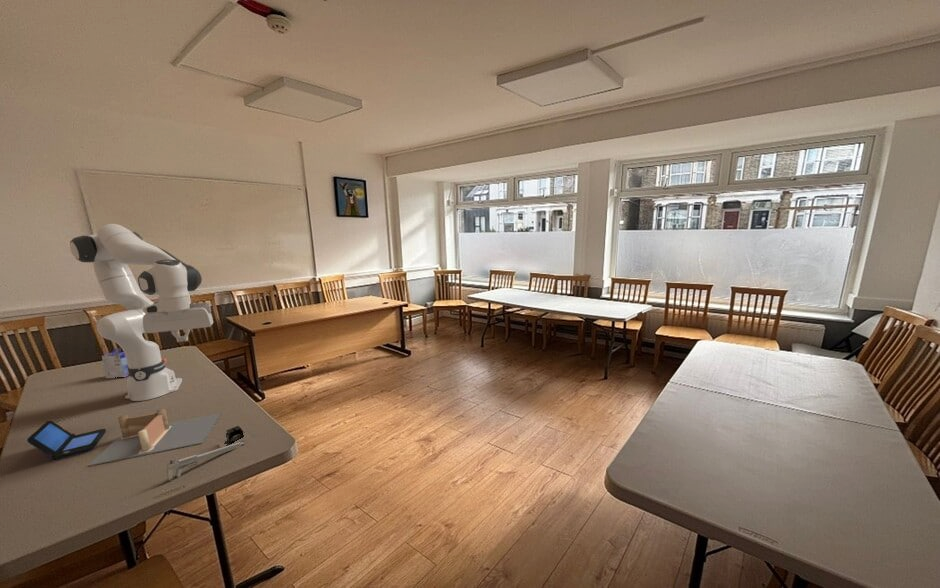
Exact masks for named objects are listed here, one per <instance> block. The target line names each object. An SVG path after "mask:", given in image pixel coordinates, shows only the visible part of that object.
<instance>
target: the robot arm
mask: <svg viewBox="0 0 940 588" xmlns="http://www.w3.org/2000/svg"><path fill="white" fill-rule="evenodd" d="M69 250H70V252H71V254H72V256H73V257H74V258H75V259H76V260H77V261H79V262H80V263H93V268H94V273H95V276H96V279H97V281H98V284H99V286H100V288H101V291H102V292H103V294H104V297H105V299H106V300H107V301H109V302H110V303H112V304H115V305H119V306H122V307H124V308H125V309H126V310H123V311H118V312H113V313H111V314H107V315H106V316H103V317H100V319H99V320H97V324H96V330H97V333H98V334H99V336H101V337H102V338H103V339H105V340H109V341H111V342H114V343H115V344H117V345H118V346H119V348H121V349H122V352H124V353H125V356H126V359H127V363H128V374H129V376H128V379H126V388H127V394H126V395H125V396H124V398H125V399H127V400H130V401H132V402H140V401H141V402H142V401H148V400H152V399H155V398H159V397H162V396H165V395H167V394H169V393H172V392H176V391H178V390H179V388H180V386H181V384H182V382H183V378H181V377H176V374H175V371H174V370H172V369H170V368H168V367H167V366H166V365H165V364H166V363H167V358H162V354H161V351H160V346H159V344H157V343H156V342H154V341H151V340H146V339H145V338H144V336H143V334H145V333H146V334H154V333H164V332H171V335H173V337H175V339H176V342H177V343H182V342H188V341H189V334H190V332H191V330H192V329H204V328H210V327H211V326H213V324H214V320H213V319H214V318H213V315H212V313H211V312H212V307H211V304H209V303H207V302H193V303H192V301H191V295H190V292H194V291H196V290H197V288H199V287H200V285H201V283H202V282H203V281H202V279H203V277H202V275H201V273H200V271H199V270H198V269H196V268H195V267H193V266H192V265H190V264H187V263H185V262H183V261H182V260H180V259H179V258H177V257H176V256H175V255H173V254H172V253H170V252H168V250H165V249H163V248H162V247H159V246H155V245H153V244H151V243H148V242H146V241H145V240H144V239H143V237H142V236H141V235H140V234H139V233H137V232H136V231H131V230H130V229H128V228H127V227H125V226H123V225H120V224H117V223H107V224H104V225H103V226H100V227H99V229H98V230H97V232H96V233H94V234H89V235H80V236H76V237H73V238H72V239H71V240H70V243H69ZM129 265H130V266H131V265H133V266H152V267H150V268H149V269H147V270H144V271H142V272H141V273H140V274H139V275H138V277H137V280H136V278H135V276H134V273H133V272H132V269H131V268H130V266H129ZM146 295H148V296H158V301H156V302H154V301H152V300H151V299H149V298H148V297H147V296H146ZM179 331H183V333H184V335H182V336H181V335H180V334H179V333H178V332H179Z"/></svg>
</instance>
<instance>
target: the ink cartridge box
mask: <svg viewBox="0 0 940 588" xmlns="http://www.w3.org/2000/svg"><path fill="white" fill-rule="evenodd" d="M121 349H122V348H121V347H119V348H118V347H117V348H113V350H112V352H110V353H107V354H104V355H101V359H102V364H103V367H104V368H103V370H104V374H105V379H118V378H117V377H125V378H127V377H129V376H128V375H129V374H128V363H127V359H126V356H125V353H124V351H122V352H121ZM126 376H127V377H126ZM115 377H116V378H115Z"/></svg>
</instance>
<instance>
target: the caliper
mask: <svg viewBox="0 0 940 588" xmlns="http://www.w3.org/2000/svg"><path fill="white" fill-rule="evenodd" d="M244 443H245V442H244V441H242V442H238V443H235V444H232V445H229V446H225V447H222V448H220V447H219V448H216V449H214V450H209V451H208V452H204V453H202V454H198V455H197V454H194V455H191V456H188V457H184V458H181V459H178V457H174V460H173V459H171V458H170V461H169V463H167V464H166V475H167V480H168V481H170V482H172V481H173V476H174V470H176V472H175V477H176V478H177V479H178V478H180V477H181V475H182V473H183V470H184V468H189V467H192V466H196V465H197V464H198V462H201V461H203V460H207V459H210V458H213V457H215V456H218V455H221V454H224V453H227V452H230V451H233V449H234V450H236V449H237V448H236V447H238V446H240V445H241V446H243V445H242V444H244ZM244 445H245V444H244ZM241 446H240V447H241ZM235 448H236V449H235ZM238 448H239V447H238Z"/></svg>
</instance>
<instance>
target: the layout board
mask: <svg viewBox="0 0 940 588" xmlns="http://www.w3.org/2000/svg"><path fill="white" fill-rule="evenodd" d="M220 414H221V413H217V414H212V415H210V414H209V415H204V416H198V417H195V418H189V419H183V420H177V421H172V422H168V424H169V429H167V430H165V431H164V432H163V433H162V434H161V435H160V436H159V437H158V439H157V440H156V441H155V442H154V443H153V444H152V445H151V446H150V448H149V449H147V450H142V447H141V443H140V438H139V435H134V436H130V437H127V438H123V436H122V434H121V435H119V436H118V437H117V438H116V439H115V440H114V441H113V442H111V444H110V445H109V446H107V447H106V448H105V449H104V450H103V451H102V452H101V453H100V454H99V455H98V456H96V457H95V458H94V460H92V461H91V462H90V463H89V464H88V465H87V466H89V467H93V466H92V465H94V466H97V465H96V464H99V465H103V464H102V463H104V464H108V463H107V462H109V463H113V462H112V461H114V462H117V461H116V460H119V461H122V459H124V460H127V459H128V458H129V459H133V458H138V457H142V456H147V455H148V456H149V455H154V454H159V453H162V452H163V453H164V452H167V451H172V450H178V449H182V447H183V448H188V447H191V446H196V445H197V444H198V445H202V444H203V442H205V440H206V439H207V436H209V434H210V433H211V431H212V429H213V428H214V426H215V425H216V423H217V422H218V420H219V419H220V417H221V416H220ZM219 416H220V417H219ZM218 418H219V419H218ZM217 419H218V420H217ZM216 421H217V422H216ZM215 422H216V423H215ZM214 424H215V425H214ZM212 427H213V428H212Z"/></svg>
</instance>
